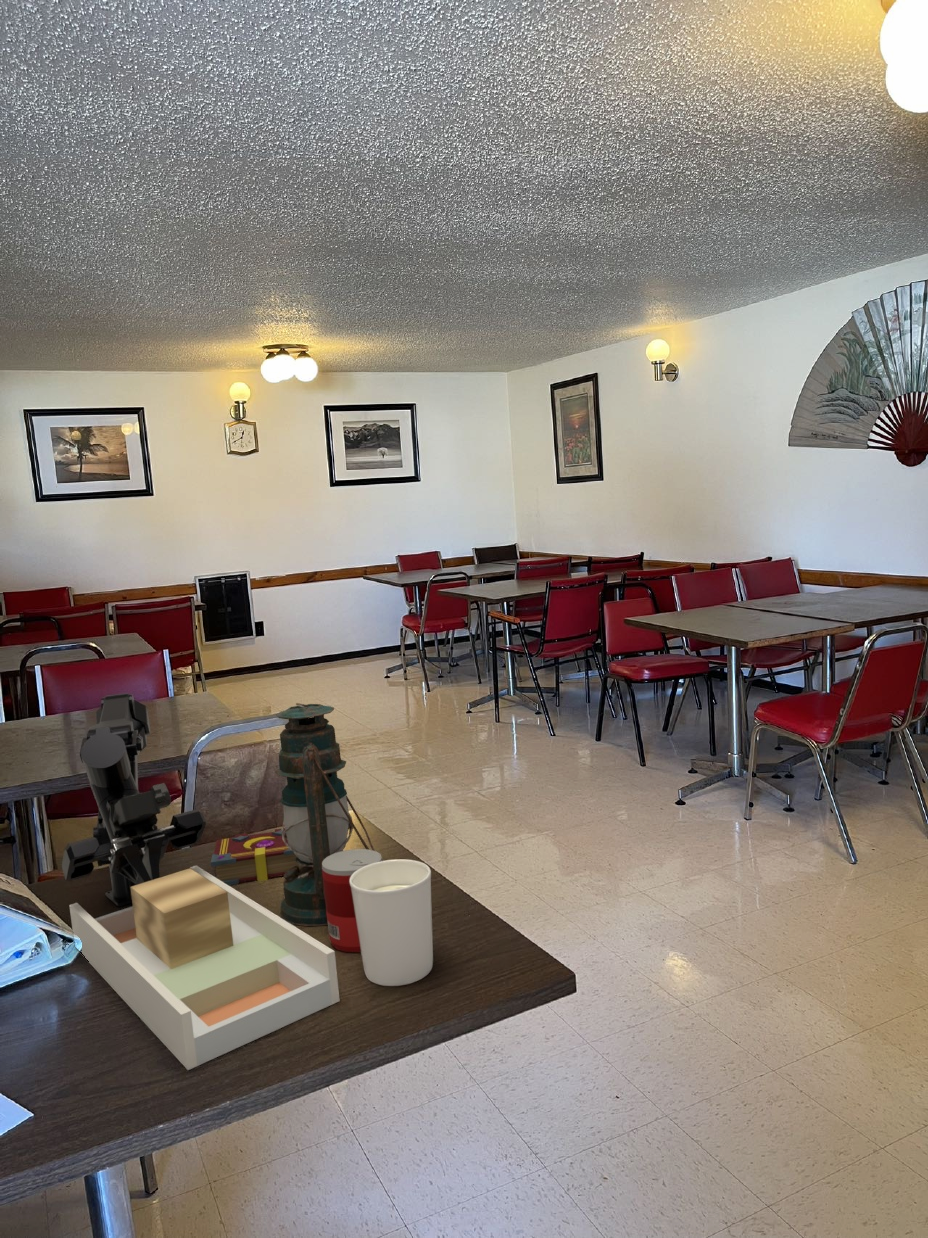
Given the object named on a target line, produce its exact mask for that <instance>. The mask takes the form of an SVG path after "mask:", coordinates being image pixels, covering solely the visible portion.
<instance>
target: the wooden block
mask: <svg viewBox="0 0 928 1238" xmlns="http://www.w3.org/2000/svg"><path fill="white" fill-rule="evenodd" d="M130 888H131V896H132V903H131V904H132V906H133V912H134V920H135V928H136V936H137V939H138V940H139V941H140V942H141V943H142V944H144V945H145V946H146V947H147V948H148V949H149V950H150V951H151V952H152V953H154V954H155V955H156V956H157V957H158V958H159V959H160V960H161V961H162V962H164V963H165V964H166V965H167V966H168V967H169V968H170V969H173V968H176V967H178V966H181V965H184V964H186V963H189V962H192V961H194V960H197V959H200V958H202V957H205V956H207V955H210V954H213V953H215V952H218V951H221V950H223V949H226V948H229V947H231V946H233V937H232V928H231V919H230V911H229V902H228V893H227V891H225V890H223V889H222V888H220V887H219V886H217V885H215V884H214V883H212V882H211V881H209V880H208V879H206V878H204V877H203V876H201V875H200V874H198V873H197V872H195V871H193V870H192V869H190V867H189V868H187V869H184V870H180V871H177V872H173V873H170V874H168V875H165V876H161V877H160V876H159V878H157V879H154V880H151V881H148V882H144V883H141V884H138V885H135V886H132V887H130Z"/></svg>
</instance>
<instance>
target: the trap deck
mask: <svg viewBox="0 0 928 1238" xmlns="http://www.w3.org/2000/svg"><path fill="white" fill-rule="evenodd" d="M189 868H190V869H192V870H193V871H195V872H197V873H198V874H200V875H201V876H203V877H204V878H206V879H208V880H209V881H211V882H212V883H214V884H215V885H217V886H219V887H220V888H222V889H223V890H225V891H227V893H228V902H229V911H230V919H231V928H232V937H233V946H231V947H229V948H226V949H223V950H221V951H218V952H215V953H213V954H210V955H207V956H205V957H202V958H200V959H197V960H194V961H192V962H189V963H186V964H184V965H181V966H178V967H176V968H173V969H170V968H169V967H168V966H167V965H166V964H165V963H164V962H162V961H161V960H160V959H159V958H158V957H157V956H156V955H155V954H154V953H152V952H151V951H150V950H149V949H148V948H147V947H146V946H145V945H144V944H142V943H141V942H140V941H139V940H138V939H137V936H136V928H135V920H134V912H133V905H132V906H129V907H127V908H124V909H123V908H122V909H121V910H117V911H114V912H111V913H108V914H105V915H101V916H99V917H96V918H94V917H93V916H92V915H91V914H89V913H88V912H87V910H86V909H84V908H83V907H82V906H81V905H80V904H79V903H78V902H75V903H74V902H73V903H71V904H69V913H70V920H71V928H72V933H73V932H74V934H75V935H77V936H78V937H79V938H80V940H81V942H82V951H81V952H82V954H83V955H84V956H85V958H86V959H87V960H88V961H89V962H88V961H87V960H86V959H85V958H84V959H85V960H86V961H87V962H88V963H89V964H90V965H91V966H92V967H93V968H94V970H95V971H96V972H97V973H98V974H99V975H100V976H101V977H102V978H103V979H104V980H105V982H106V983H107V984H108V985H109V986H110V987H111V988H112V989H113V990H114V992H116V994H117V995H118V996H119V997H120V999H122V1000H123V1001H124V1003H126V1005H127V1006H128V1007H129V1008H130V1009H131V1010H132V1011H133V1012H134V1013H135V1014H136V1015H137V1016H138V1017H139V1019H140V1020H141V1021H142V1022H143V1023H144V1024H145V1026H146V1027H147V1028H148V1029H149V1030H151V1032H152V1033H153V1035H155V1036H156V1037H157V1038H158V1039H159V1041H161V1043H162V1044H163V1045H164V1046H165V1047H166V1048H167V1049H168V1050H169V1051H170V1052H171V1054H172V1055H173V1056H174V1057H175V1058H176V1059H177V1060H178V1061H179V1062H180V1064H181V1065H183V1067H185V1069H186V1070H187V1071H190V1070H192V1069H194V1068H197V1067H199V1066H200V1065H203V1064H205V1063H207V1062H209V1061H211V1060H214V1059H216V1058H217V1057H218V1058H219V1057H220V1056H223V1055H224V1054H225V1055H226V1054H227V1053H229V1052H231V1051H233V1050H236V1049H237V1048H240V1047H242V1046H244V1045H246V1044H248V1043H251V1042H253V1041H255V1040H258V1039H259V1038H262V1037H264V1036H267V1035H268V1034H270V1033H273V1032H275V1031H278V1030H280V1029H281V1028H283V1027H286V1026H289V1025H291V1024H292V1023H295V1022H297V1021H299V1020H301V1019H304V1018H306V1017H308V1016H310V1015H312V1014H314V1013H317V1012H319V1011H321V1010H324V1009H325V1008H329V1006H332V1005H335V1004H336V1003H338V1002H340V1001H341V1000H340V992H339V981H338V972H337V960H336V951H335V950H333V949H332V948H330V947H329V946H327V945H325V944H324V943H322V942H320V941H319V940H317V939H316V938H314V937H312V936H311V935H309V934H308V933H306V932H304V931H303V930H301V929H300V928H298V927H296V925H294V924H291V923H289V922H287V921H285V920H284V919H283V918H282V917H280V916H279V915H277V914H275V913H273V912H272V911H271V910H269V909H267V908H266V907H265V906H263V905H261V904H259V903H257V902H256V901H254V900H253V899H251V898H250V897H248V896H246V895H245V894H243V893H241V892H240V891H239V890H236V889H235V888H233V887H232V886H231V885H227V884H225V883H224V882H222V881H220V880H219V879H217V878H216V877H215V875H212V874H210V873H209V872H207V871H206V870H205V869H203V868H201V867H200V866H198V865H193V866H189ZM82 954H81V955H82ZM83 955H82V956H83ZM84 956H83V957H84Z"/></svg>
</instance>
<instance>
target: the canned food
mask: <svg viewBox="0 0 928 1238" xmlns="http://www.w3.org/2000/svg"><path fill="white" fill-rule="evenodd" d="M381 861H384V860H383V857H382V855H381V853H380V852H378V851H376V850H375V851H373V850H372V849H369V850H367V849H366V848H354V849H346V850H343V851H341V852H337V853H335V854H332V855H330V856H328V857H326V858H325V859H324V860H323V862H322V874H323V885H324V894H325V903H326V913H327V922H328V925H327V931H328V938H329V941H330V943H331V945H332V947H333V948H335V949H336V950H338V951H340V952H344V953H361V948H360V942H359V936H358V929H357V923H356V917H355V910H354V904H353V898H352V892H351V886H350V883H349V880H350V877H351V875H352V874H353V873H354V872H355V871H357V870H358V869H360V868H362V867H364V866H367V865H369V864H373V863H376V862H381Z"/></svg>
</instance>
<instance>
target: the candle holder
mask: <svg viewBox="0 0 928 1238" xmlns="http://www.w3.org/2000/svg"><path fill="white" fill-rule="evenodd" d="M431 870H432V869H431V868H430V866H428V865H427V864H426V863H424V862H422V861H419V860H414V859H403V858H402V859H400V858H399V859H387V860H383V861H381V862H376V863H373V864H369V865H367V866H364V867H362V868H360V869H358V870H357V871H355V872H354V873H353V874H352V875H351V877H350V880H349V883H350V886H351V892H352V898H353V904H354V910H355V917H356V923H357V929H358V936H359V942H360V948H361V952H360V953H361V960H362V965H363V970H364V974H365V977H366V978H367V979H368V980H369V981H370V982H371V983H374V984H376V985H379V986H384V987H399V986H405V985H410V984H413V983H416V982H417V981H420V980H422V979H424V978H425V977H427V975H429V973H431V971H432V969H433V965H434V964H433V963H434V952H433V951H434V948H433V919H432V917H433V915H432V913H433V911H432V910H433V909H432V886H431V885H432V884H431V880H432V879H431V878H432V871H431Z"/></svg>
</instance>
